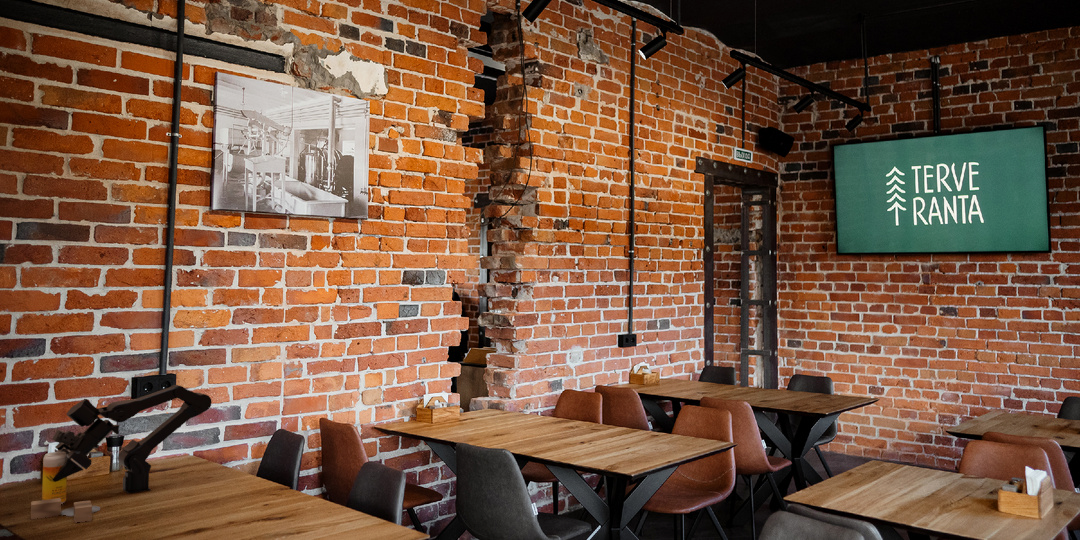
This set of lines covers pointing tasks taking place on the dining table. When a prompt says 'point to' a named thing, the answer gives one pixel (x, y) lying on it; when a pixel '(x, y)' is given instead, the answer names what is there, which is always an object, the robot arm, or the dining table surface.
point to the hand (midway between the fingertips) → (49, 478)
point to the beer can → (50, 469)
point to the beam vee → (53, 508)
